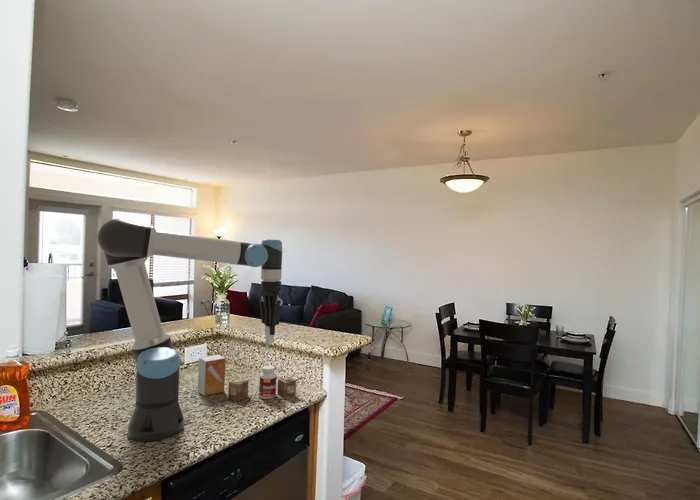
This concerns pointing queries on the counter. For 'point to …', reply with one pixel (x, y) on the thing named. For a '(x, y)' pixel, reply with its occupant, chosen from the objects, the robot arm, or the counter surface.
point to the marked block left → (238, 389)
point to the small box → (211, 375)
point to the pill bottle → (267, 383)
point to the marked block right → (286, 387)
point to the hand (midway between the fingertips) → (269, 343)
